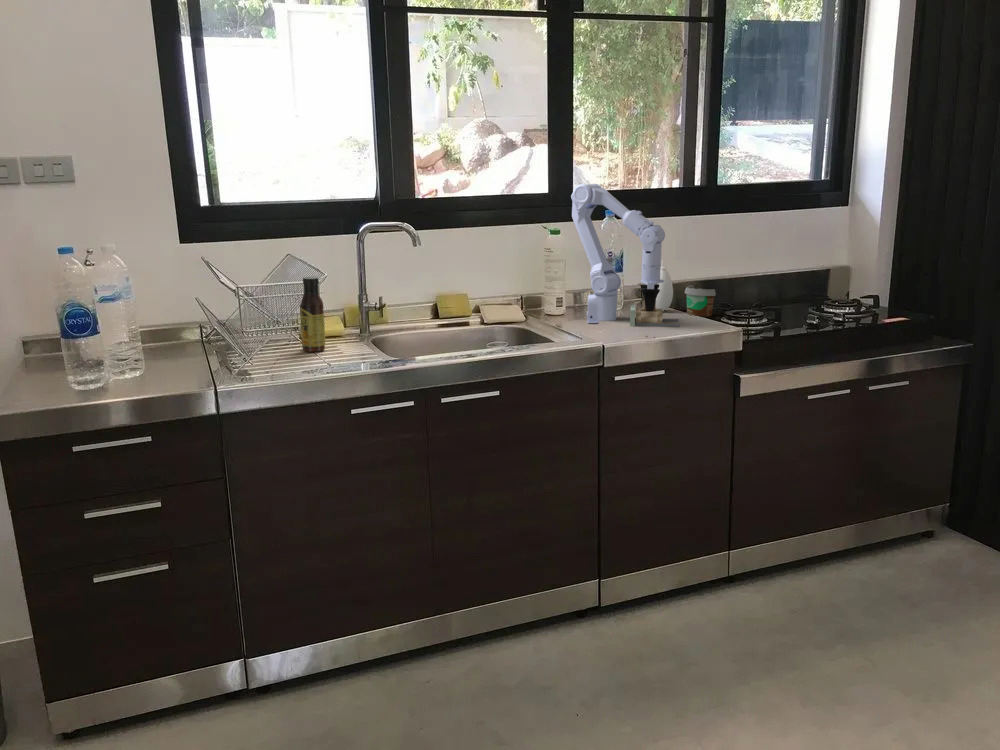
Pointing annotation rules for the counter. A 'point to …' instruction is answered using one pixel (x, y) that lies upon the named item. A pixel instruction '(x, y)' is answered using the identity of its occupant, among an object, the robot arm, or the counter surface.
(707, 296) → the food container
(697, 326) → the counter surface
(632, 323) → the slide board
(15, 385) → the counter surface
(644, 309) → the walnut dowel
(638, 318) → the maple block
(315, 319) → the sauce bottle
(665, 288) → the sauce bottle
